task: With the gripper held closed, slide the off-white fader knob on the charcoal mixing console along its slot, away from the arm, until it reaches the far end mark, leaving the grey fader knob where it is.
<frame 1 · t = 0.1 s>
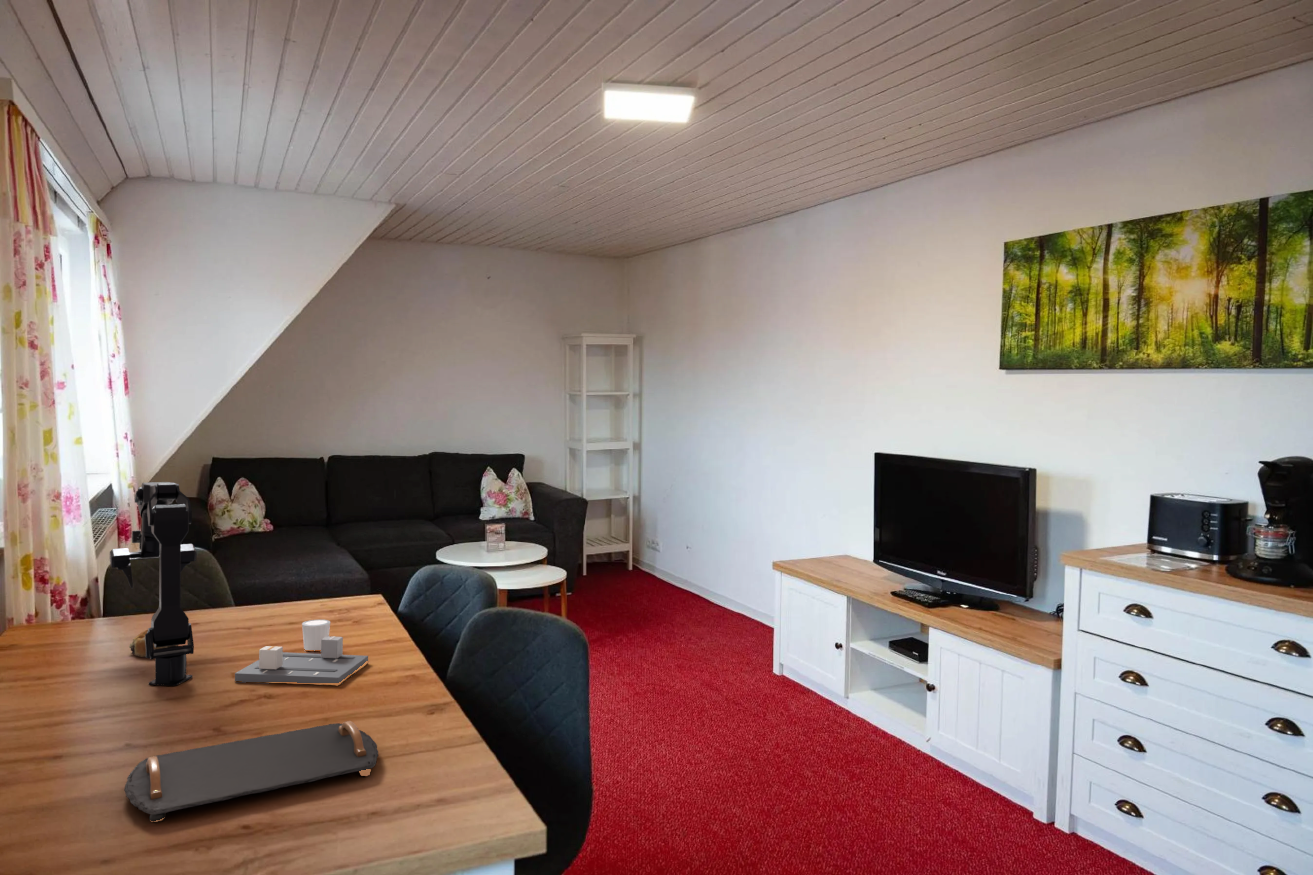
hand: (152, 585, 216), 15 cm above the table, tool pointing down, fingers open, 9 cm apart
bread roll: (153, 653, 211), on the table
fader b: (332, 646, 203), point 5 cm above the table, slide at 0.0 cm
fader a: (270, 657, 194), point 5 cm above the table, slide at 0.0 cm
white cup: (315, 649, 217), on the table
console: (304, 672, 198), on the table
serving board: (258, 779, 143), on the table
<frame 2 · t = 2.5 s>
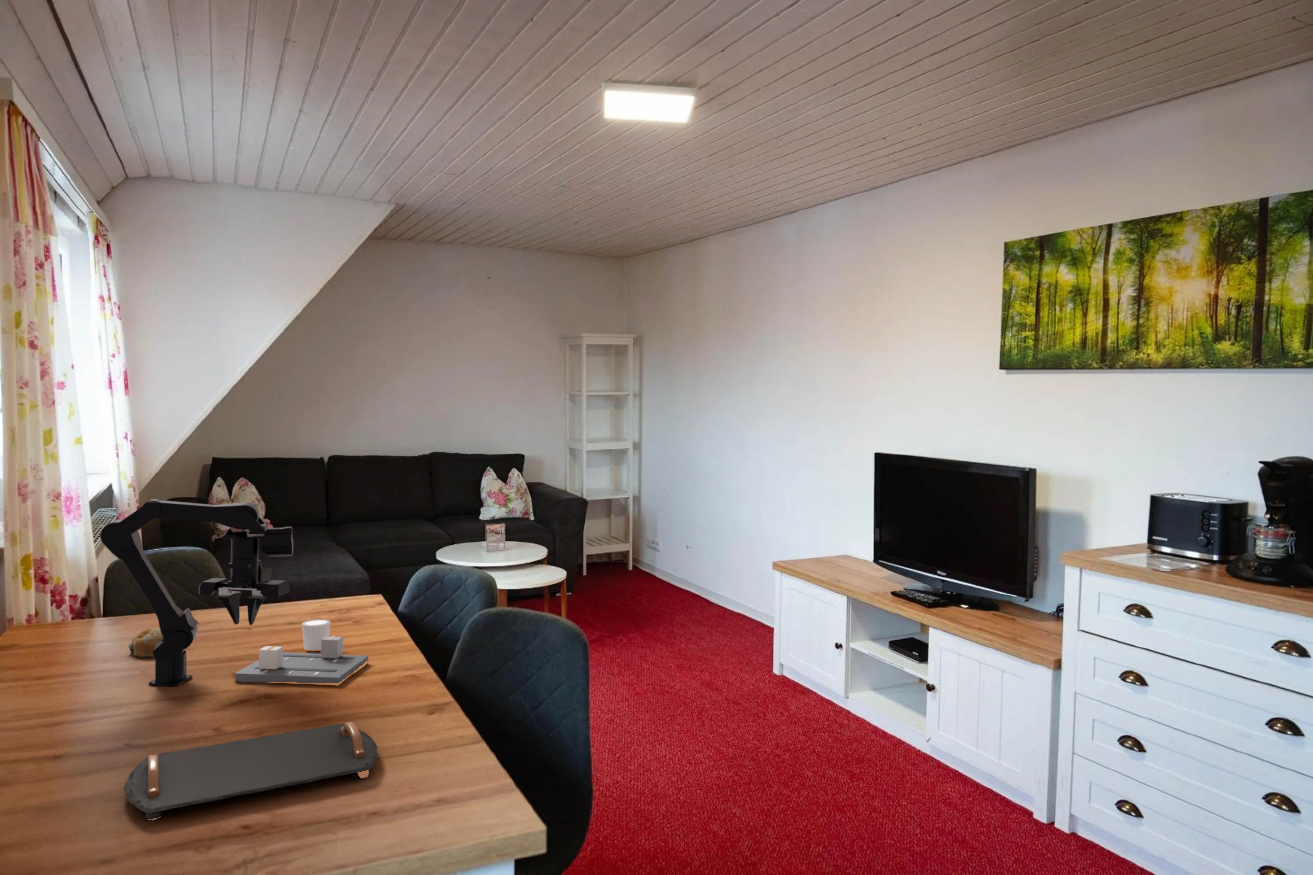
hand: (244, 624, 194), 12 cm above the table, tool pointing down, fingers open, 3 cm apart
nothing on the table moved.
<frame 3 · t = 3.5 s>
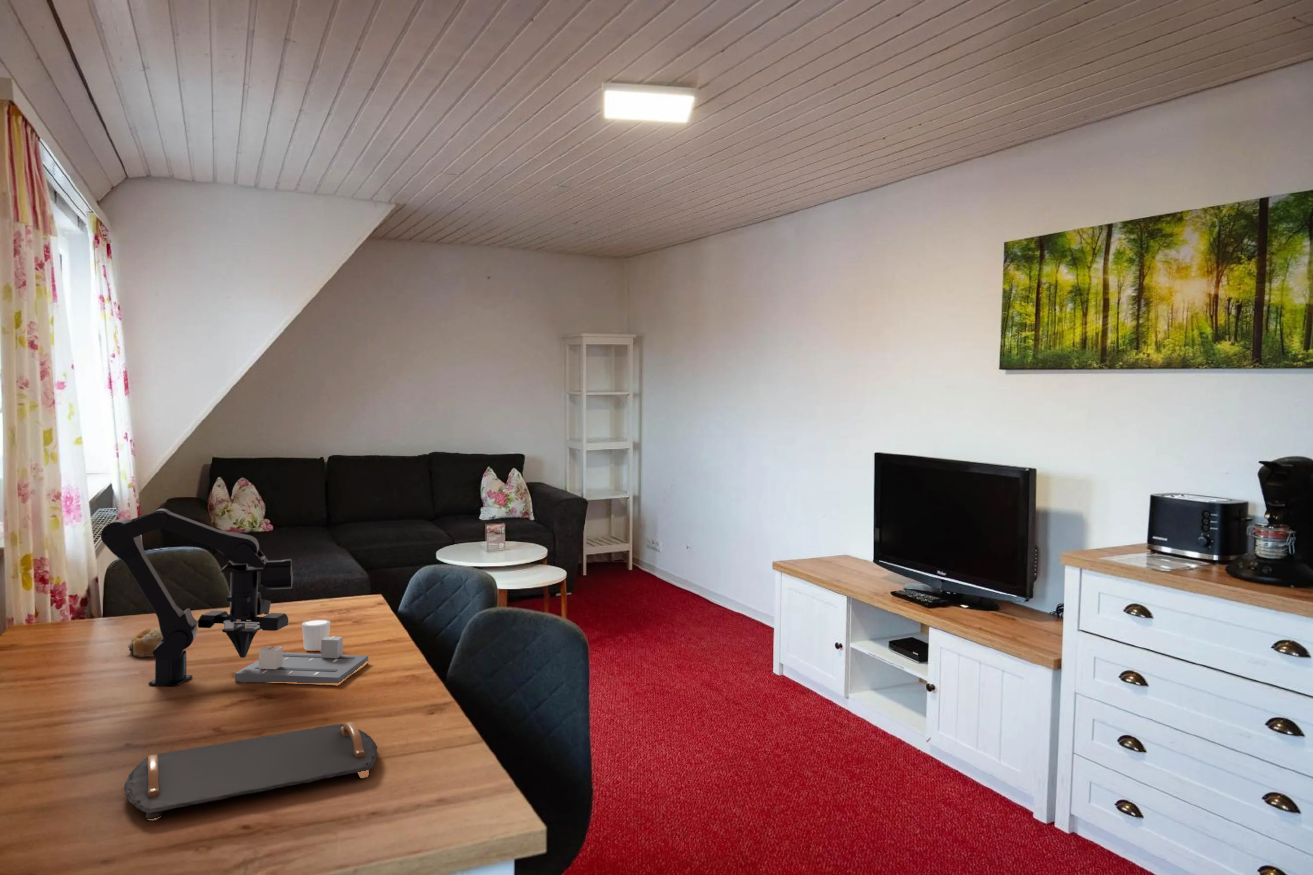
hand: (243, 657, 194), 4 cm above the table, tool pointing down, fingers closed
nothing on the table moved.
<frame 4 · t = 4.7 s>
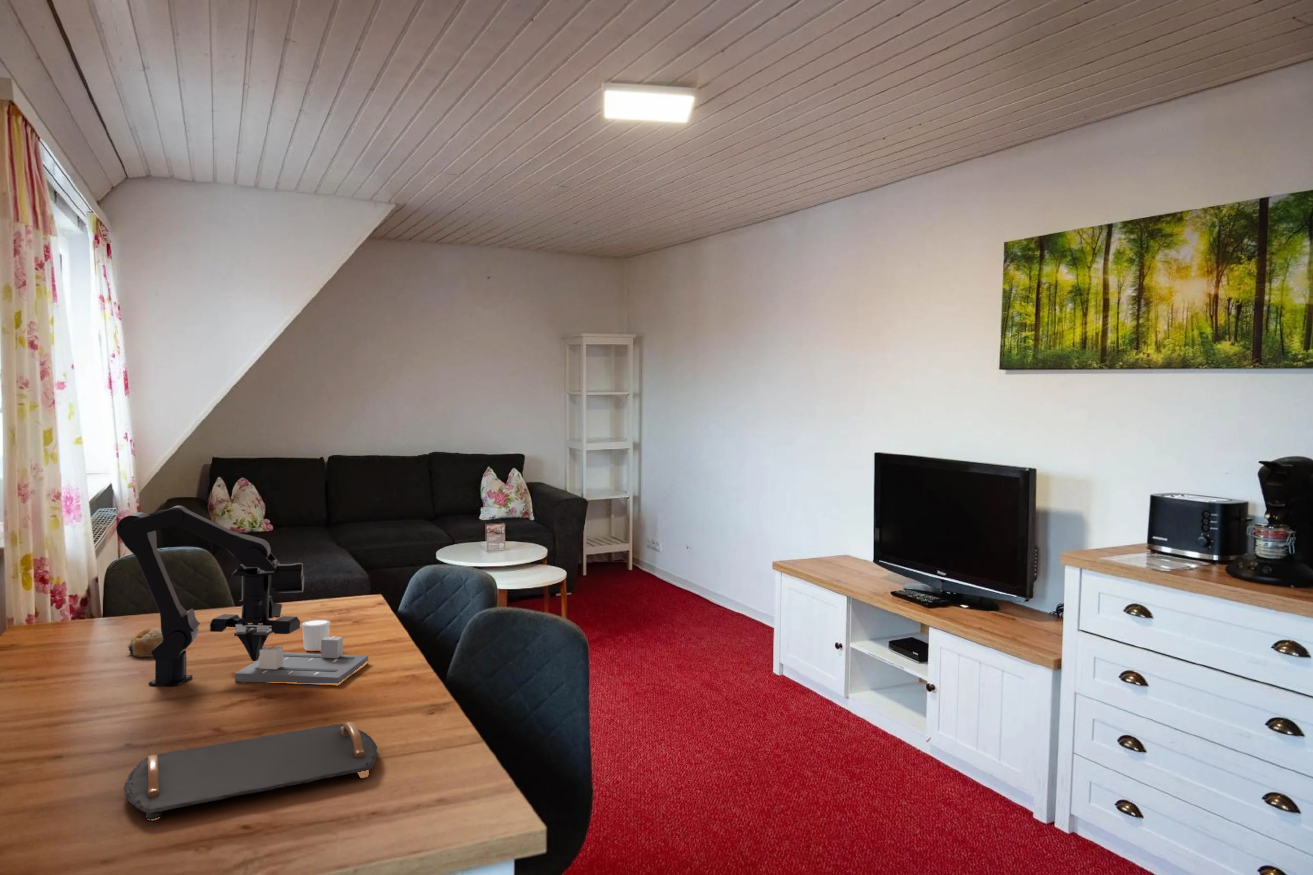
hand: (255, 660, 194), 4 cm above the table, tool pointing down, fingers closed
fader a: (271, 657, 194), point 5 cm above the table, slide at 0.1 cm, touching gripper
everything else where it was.
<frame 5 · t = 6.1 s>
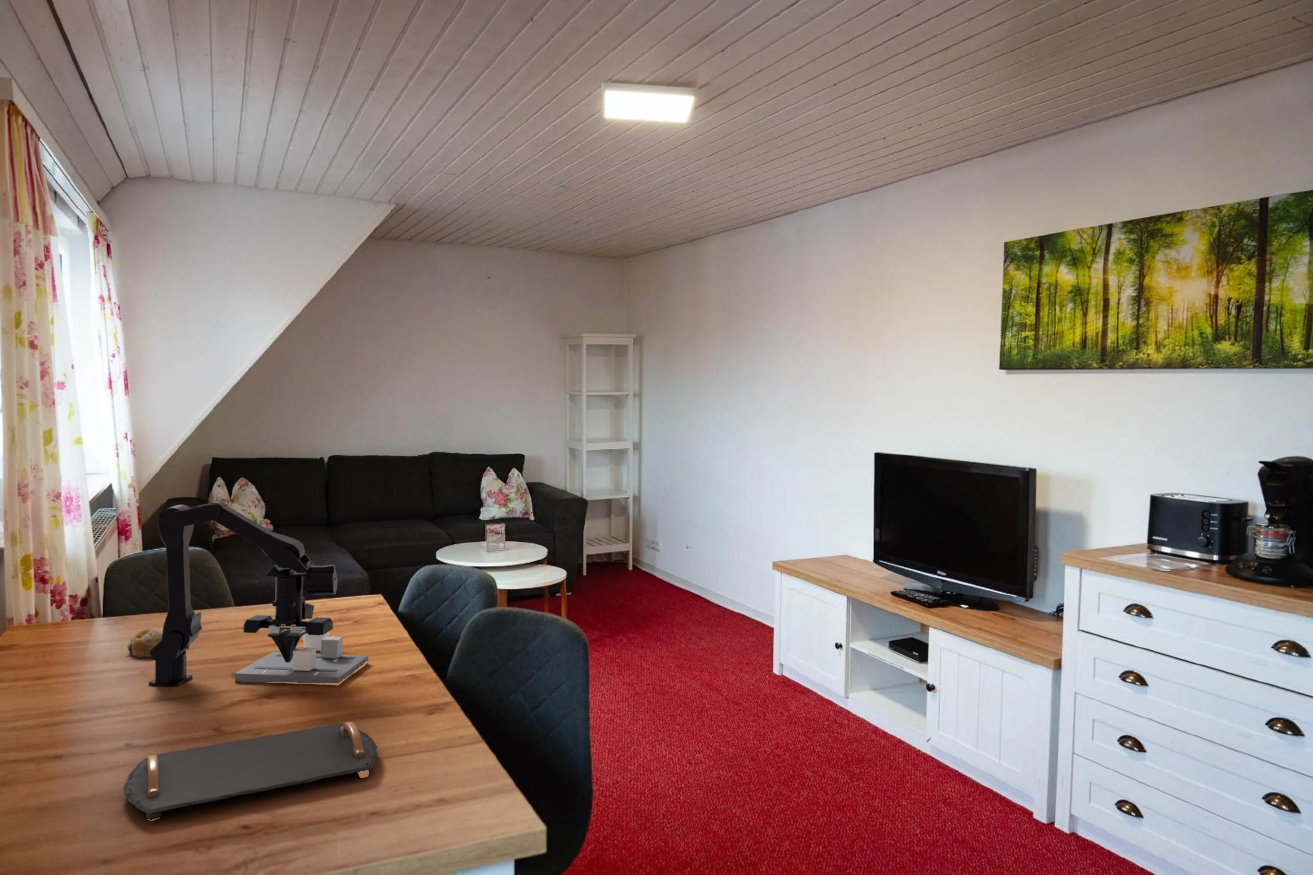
hand: (288, 661, 194), 4 cm above the table, tool pointing down, fingers closed
fader a: (304, 658, 193), point 5 cm above the table, slide at 8.0 cm, touching gripper
everything else where it was.
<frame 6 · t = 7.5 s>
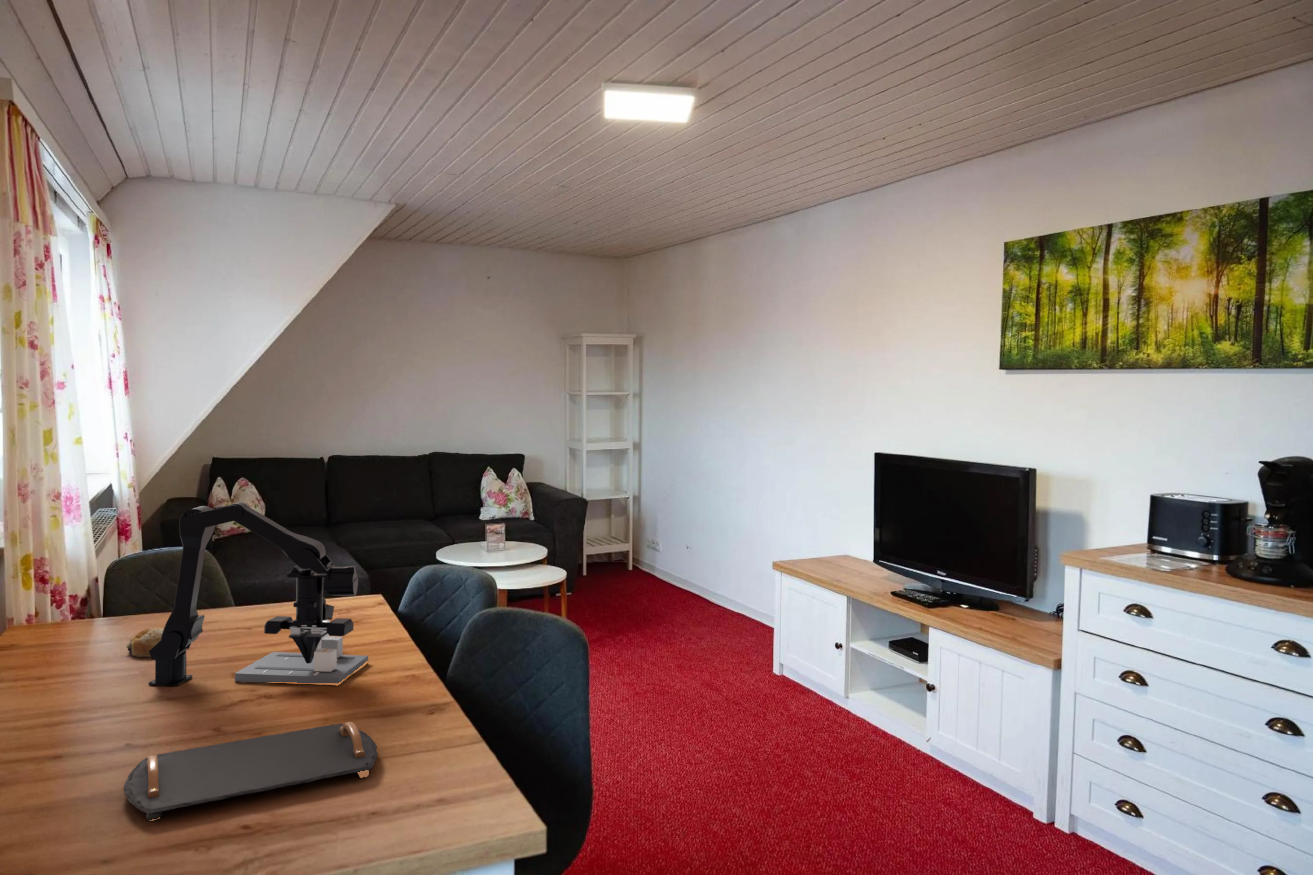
hand: (309, 662, 193), 4 cm above the table, tool pointing down, fingers closed
fader a: (325, 659, 193), point 5 cm above the table, slide at 12.9 cm, touching gripper
everything else where it was.
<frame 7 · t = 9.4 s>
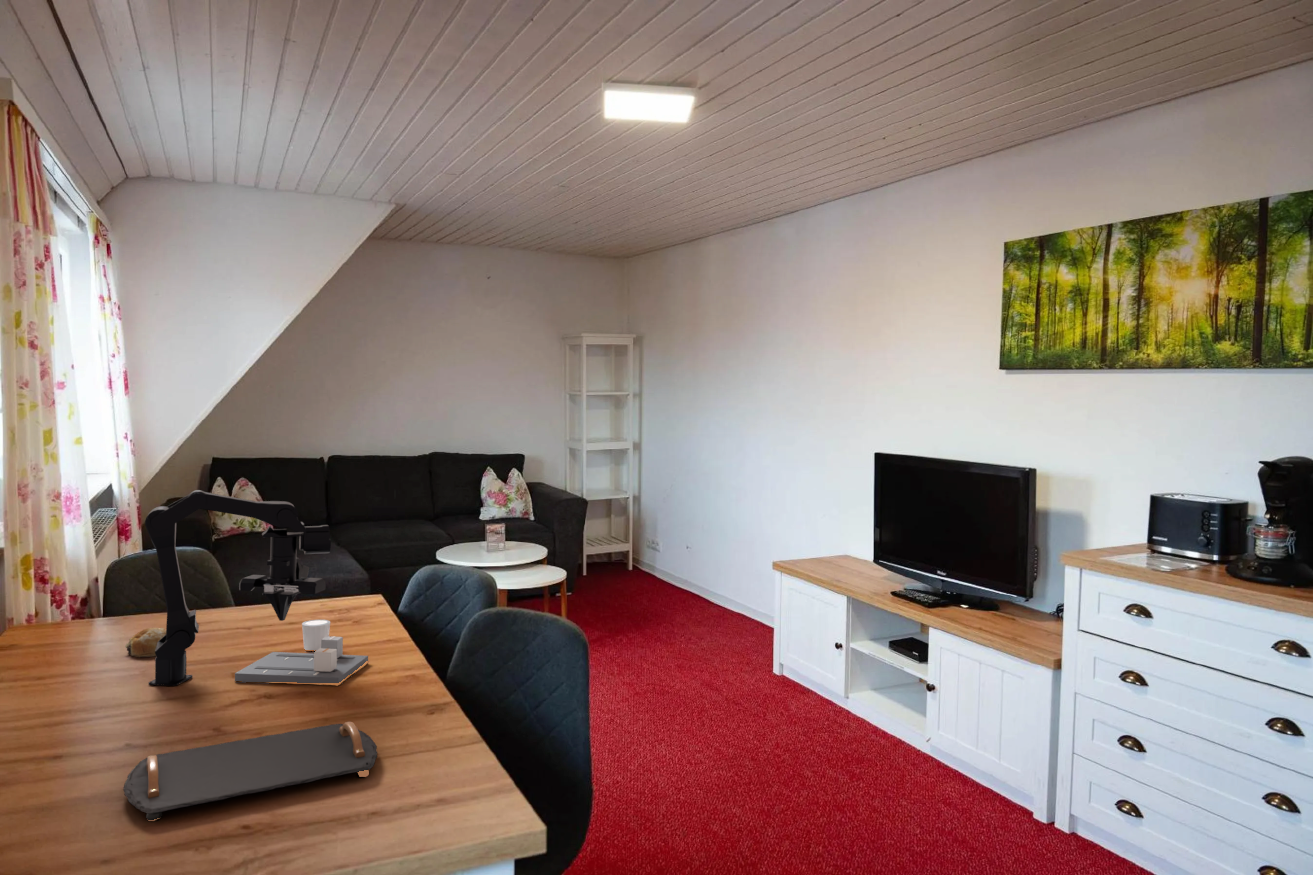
hand: (282, 620, 199), 12 cm above the table, tool pointing down, fingers closed
fader a: (325, 659, 193), point 5 cm above the table, slide at 12.9 cm
everything else where it was.
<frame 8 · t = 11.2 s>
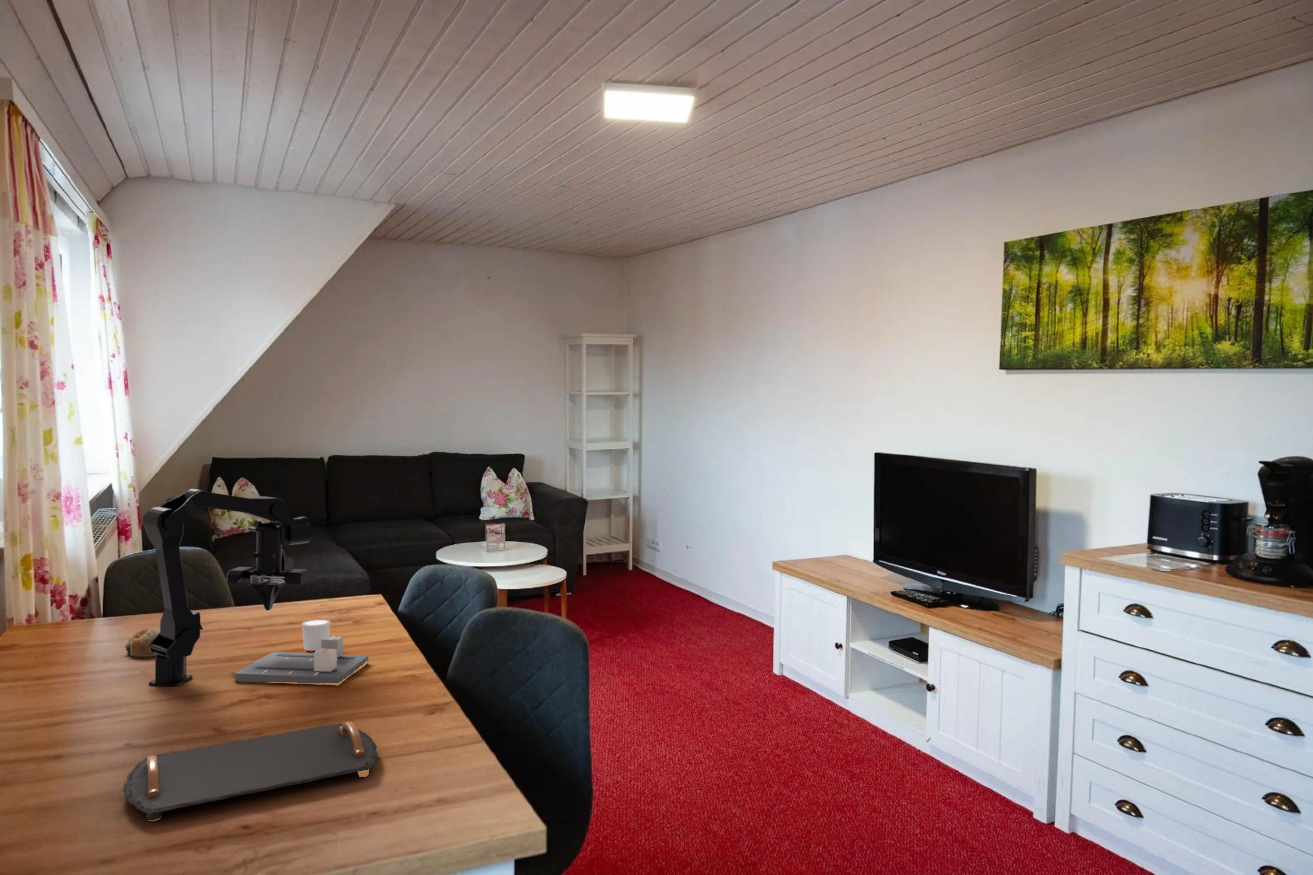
hand: (268, 609, 208), 12 cm above the table, tool pointing down, fingers closed
nothing on the table moved.
at the end: fader a slide at 12.9 cm; fader b slide at 0.0 cm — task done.
